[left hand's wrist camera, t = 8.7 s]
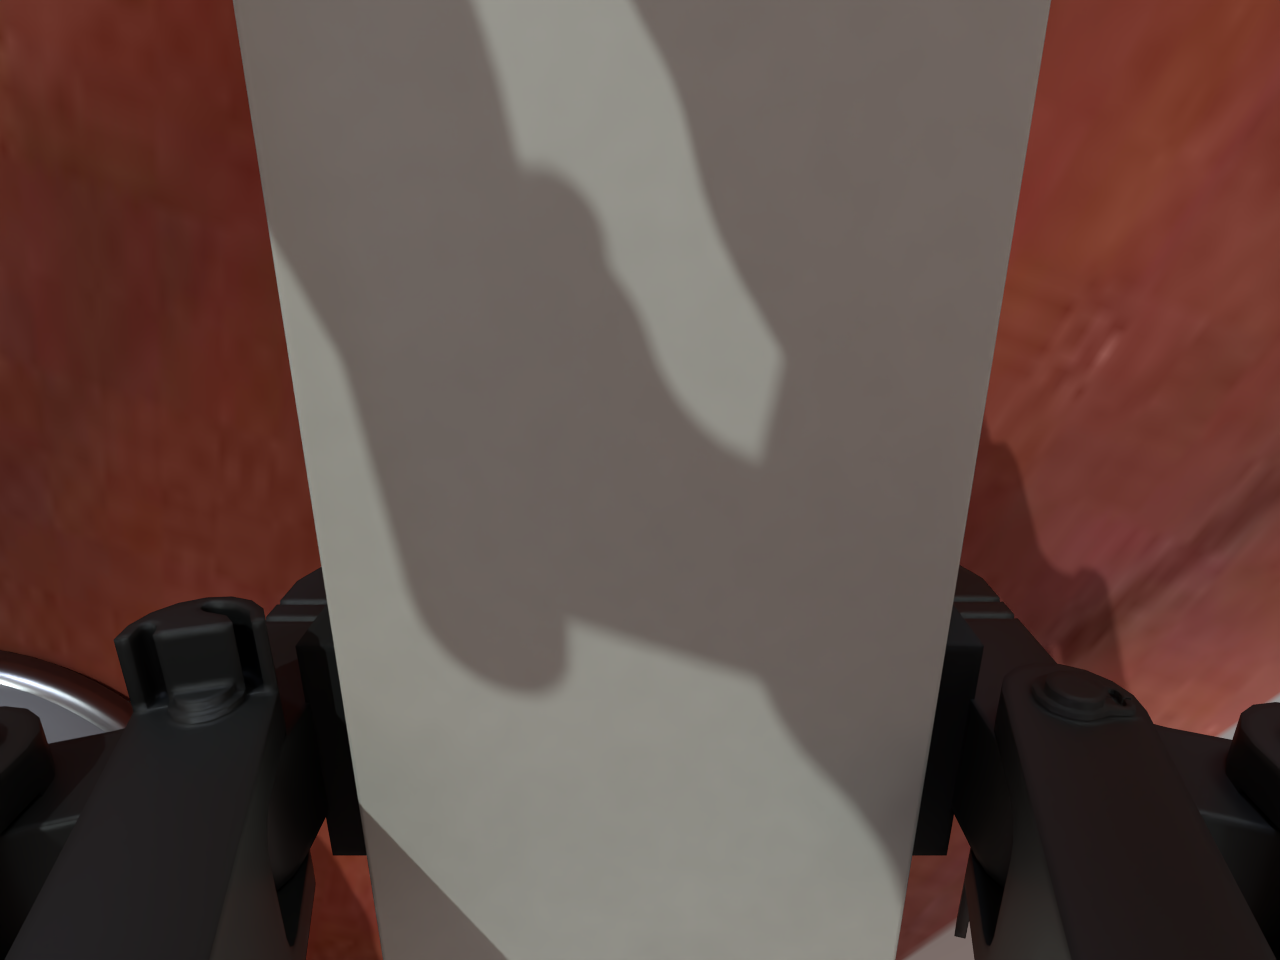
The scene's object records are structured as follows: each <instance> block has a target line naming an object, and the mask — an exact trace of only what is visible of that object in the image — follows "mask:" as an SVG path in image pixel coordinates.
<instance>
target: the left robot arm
mask: <svg viewBox="0 0 1280 960" xmlns="http://www.w3.org/2000/svg"><path fill="white" fill-rule="evenodd" d="M114 643H115V647H116V650H117V654H118V657H119V661H120V665H121V668H122V672H123V676H124V679H125V683H126V687H127V690H128V694H129V698H130V701H131V703H130V702H129V701H127V700H126V699H124V698H123V697H121V696H120V695H118V694H117V693H115V692H113V691H111V690H110V689H108V688H106V687H104V686H103V685H101V684H99V683H97V682H95V681H93V680H91V679H89V678H87V677H85V676H83V675H81V674H78V673H76V672H74V671H71V670H69V669H66V668H64V667H61V666H59V665H56V664H53V663H50V662H47V661H44V660H40V659H37V658H34V657H30V656H26V655H21V654H17V653H12V652H7V651H1V650H0V960H306V953H307V945H308V938H309V930H310V923H311V915H312V907H313V900H314V892H315V877H314V870H313V864H312V859H311V854H310V848H311V846H312V844H313V842H314V840H315V838H316V836H317V834H318V832H319V830H320V828H321V826H322V824H323V822H324V820H325V818H326V819H327V825H328V831H329V836H330V842H331V847H332V853H333V855H367V853H366V847H365V840H364V834H363V828H362V821H361V815H360V808H359V802H358V796H357V789H356V783H355V776H354V770H353V764H352V757H351V751H350V745H349V738H348V732H347V725H346V719H345V713H344V706H343V700H342V693H341V687H340V681H339V674H338V668H337V662H336V655H335V649H334V642H333V636H332V630H331V623H330V617H329V610H328V604H327V598H326V591H325V585H324V579H323V572H322V567H321V568H319V569H317V570H315V571H314V572H312V573H310V574H309V575H307V576H305V577H303V578H302V579H300V580H298V581H297V582H296V583H295V584H294V586H293V587H292V588H291V589H290V590H289V591H288V592H287V594H286V595H285V596H284V597H283V598H282V599H281V601H280V605H276V606H275V607H274V609H273V610H272V611H271V612H270V613H269V614H268V615H267V617H266V620H265V615H264V610H263V608H262V607H260V606H259V605H257V604H256V603H255V602H253V601H252V600H247V599H242V598H236V597H208V598H202V599H197V600H192V601H187V602H181V603H177V604H174V605H172V606H169V607H166V608H163V609H160V610H157V611H155V612H152V613H150V614H148V615H146V616H144V617H143V618H141V619H139V620H137V621H135V622H134V623H132V624H130V625H128V626H127V627H126V628H125V629H124V630H123V631H122V632H121V633H120V634H119V635H118V636H117V637H116V638H115V639H114ZM954 815H955V817H956V819H957V821H958V823H959V825H960V827H961V829H962V831H963V833H964V835H965V837H966V839H967V841H968V843H969V845H970V847H971V848H970V854H969V859H968V864H967V869H966V874H965V879H964V885H963V890H962V895H961V900H960V905H959V911H958V916H957V922H956V929H955V936H957V937H961V938H966V933H967V928H968V923H969V921H970V928H971V936H972V943H973V951H974V959H975V960H1280V703H1278V702H1273V703H1265V704H1256V705H1252V706H1251V707H1249V708H1248V709H1247V710H1245V711H1244V712H1242V713H1241V715H1240V718H1239V721H1238V724H1237V727H1236V730H1235V733H1234V737H1233V740H1229V739H1224V738H1219V737H1214V736H1209V735H1203V734H1198V733H1193V732H1188V731H1183V730H1177V729H1172V728H1167V727H1163V726H1159V725H1155V724H1153V722H1152V720H1151V718H1150V716H1149V714H1148V713H1147V711H1146V710H1145V708H1144V707H1143V706H1142V705H1141V704H1140V703H1139V701H1138V700H1137V699H1136V698H1135V697H1134V695H1132V694H1131V693H1129V692H1128V691H1126V690H1125V689H1123V688H1122V687H1120V686H1119V685H1117V684H1116V683H1114V682H1113V681H1111V680H1108V679H1106V678H1103V677H1101V676H1099V675H1096V674H1094V673H1091V672H1089V671H1086V670H1083V669H1078V668H1074V667H1070V666H1065V665H1061V664H1057V663H1056V662H1055V661H1054V660H1053V658H1052V657H1051V656H1050V655H1049V654H1048V653H1047V652H1046V650H1045V649H1044V648H1043V647H1042V646H1041V645H1040V644H1039V642H1038V641H1037V640H1036V639H1035V638H1034V637H1033V636H1032V634H1031V633H1030V632H1029V631H1028V630H1027V629H1026V628H1025V626H1024V625H1023V624H1022V623H1021V622H1020V621H1019V620H1018V619H1014V614H1013V613H1012V612H1011V610H1010V609H1009V608H1008V607H1007V606H1006V605H1005V604H1004V602H1000V598H999V597H998V596H997V594H996V593H995V592H994V591H993V590H992V589H991V588H990V586H989V585H988V584H987V583H986V582H985V581H984V580H983V578H981V577H979V576H978V575H976V574H974V573H972V572H971V571H969V570H967V569H966V568H964V567H962V566H960V565H959V570H958V576H957V582H956V588H955V594H954V600H953V607H952V613H951V619H950V625H949V631H948V637H947V643H946V650H945V656H944V662H943V668H942V674H941V680H940V687H939V693H938V699H937V705H936V711H935V717H934V724H933V730H932V736H931V742H930V748H929V754H928V761H927V767H926V773H925V779H924V785H923V791H922V797H921V804H920V810H919V816H918V822H917V828H916V834H915V841H914V847H913V853H912V855H947V850H948V844H949V839H950V833H951V827H952V822H953V816H954Z"/></svg>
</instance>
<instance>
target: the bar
mask: <svg viewBox="0 0 1280 960" xmlns="http://www.w3.org/2000/svg"><path fill="white" fill-rule="evenodd" d="M1050 3H1051V0H233V4H234V10H235V17H236V23H237V30H238V36H239V42H240V49H241V55H242V62H243V68H244V74H245V81H246V87H247V93H248V100H249V106H250V113H251V119H252V125H253V132H254V138H255V145H256V151H257V157H258V164H259V170H260V176H261V183H262V189H263V196H264V202H265V208H266V215H267V221H268V228H269V234H270V240H271V247H272V253H273V259H274V266H275V272H276V279H277V285H278V291H279V298H280V304H281V310H282V317H283V323H284V330H285V336H286V342H287V349H288V355H289V362H290V368H291V374H292V381H293V387H294V393H295V400H296V406H297V413H298V419H299V425H300V432H301V438H302V445H303V451H304V457H305V464H306V470H307V476H308V483H309V489H310V496H311V502H312V508H313V515H314V521H315V528H316V534H317V540H318V547H319V553H320V559H321V566H322V572H323V579H324V585H325V591H326V598H327V604H328V610H329V617H330V623H331V630H332V636H333V642H334V649H335V655H336V662H337V668H338V674H339V681H340V687H341V693H342V700H343V706H344V713H345V719H346V725H347V732H348V738H349V745H350V751H351V757H352V764H353V770H354V776H355V783H356V789H357V796H358V802H359V808H360V815H361V821H362V828H363V834H364V840H365V847H366V853H367V859H368V866H369V872H370V879H371V885H372V891H373V898H374V904H375V910H376V917H377V923H378V930H379V936H380V942H381V949H382V955H383V960H895V958H896V951H897V945H898V939H899V933H900V927H901V921H902V915H903V908H904V902H905V896H906V890H907V884H908V878H909V871H910V865H911V859H912V853H913V847H914V841H915V834H916V828H917V822H918V816H919V810H920V804H921V797H922V791H923V785H924V779H925V773H926V767H927V761H928V754H929V748H930V742H931V736H932V730H933V724H934V717H935V711H936V705H937V699H938V693H939V687H940V680H941V674H942V668H943V662H944V656H945V650H946V643H947V637H948V631H949V625H950V619H951V613H952V607H953V600H954V594H955V588H956V582H957V576H958V570H959V563H960V557H961V551H962V545H963V539H964V533H965V526H966V520H967V514H968V508H969V502H970V496H971V489H972V483H973V477H974V471H975V465H976V459H977V452H978V446H979V440H980V434H981V428H982V422H983V416H984V409H985V403H986V397H987V391H988V385H989V379H990V372H991V366H992V360H993V354H994V348H995V342H996V335H997V329H998V323H999V317H1000V311H1001V305H1002V298H1003V292H1004V286H1005V280H1006V274H1007V268H1008V262H1009V255H1010V249H1011V243H1012V237H1013V231H1014V225H1015V218H1016V212H1017V206H1018V200H1019V194H1020V188H1021V181H1022V175H1023V169H1024V163H1025V157H1026V151H1027V144H1028V138H1029V132H1030V126H1031V120H1032V114H1033V108H1034V101H1035V95H1036V89H1037V83H1038V77H1039V71H1040V64H1041V58H1042V52H1043V46H1044V40H1045V34H1046V27H1047V21H1048V15H1049V9H1050Z"/></svg>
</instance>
